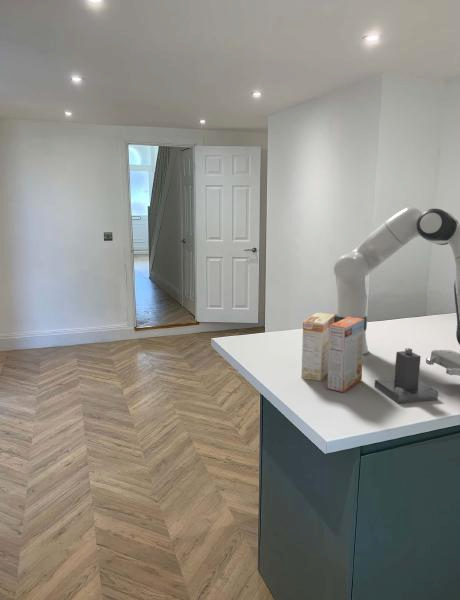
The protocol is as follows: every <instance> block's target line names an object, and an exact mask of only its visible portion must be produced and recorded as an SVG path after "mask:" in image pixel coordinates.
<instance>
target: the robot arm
mask: <svg viewBox="0 0 460 600" xmlns="http://www.w3.org/2000/svg"><path fill="white" fill-rule="evenodd" d="M417 237H422V238H423V239H424V240H426V241H428V242H430V243H431V244H436V245H441V246H444V245H445V246H446V245H449V246H450V248H451V250H452V253H453V256H454V262H455V268H456V269H455V270H456V273H455V274H456V276H455V279H454V283H453V289H454V290H453V294H454V303H455V312H456V322H457V323H456V324H457V325H456V340H457V343H458V345H459V346H460V223H459V221H458V220H457V219H456V218H455V217H454V216H453V215H452V214H451V213H450V212H447V211H446V210H443V209H442V208H441V209H440V208H429V209H427V210H424V211H423V212H422V211H421V210H419V209H418V208H417V207H414V206H408V207H407V206H406V207H405V208H403V209H402V210H400V211H398V212H396V213H395V214H393V215H392V216H391V217H389V218H388V219H387V220H385V221H384V222H383V223H382V224H380V225H379V226H378V227H376V229H374V231H372V232H371V233H369V235H367V236H366V237H365V239H363V240H362V242H360V244H358V245H357V246H356V247H355V248H354V249H352V250H351V251H350V252H348V253H345V254H342V255H341V256H339V258H338V259H337V260H336V261H335V263H334V267H333V273H334V276H335V283H336V285H335V286H336V290H337V292H336V293H337V306H336V308H337V309H336V313H334V312H332V313H331V314H334V315H335V318H334V323H336V322H338V321H340V320H342V319H345V318H347V317H355V318H361V319H364V339H363V355H365V354H368V353H369V349H368V345H367V344H368V343H367V337H366V336H367V335H366V334H367V333H366V332H367V328H368V317H367V302H368V301H367V299H368V296H367V291H366V290H367V289H366V277H367V276H368V275H369V274H370V273H372V272H373V271H374V270H375V269H377V268H378V267H379V266H380V265H381V264H382V263H384V262H385V261H387V259H389V258H390V257H392V256H393V255H394V254H395V253H397V252H398V251H400V249H402V248H403V247H404V246H405V245H407V244H408V243H409V242H411V240H413V239H414V238H417ZM425 363H426V364H427V365H429V366H431V365H432V366H433V365H434V364H436V365H438V366H441V367H443V368H445V370H446V371H445V373H446V374H447V375H450V376H460V353H459V352H457V351H456V350H451V349H436V350H435V349H434V350H432V351H431V352H430V357H427V358H426V359H425Z"/></svg>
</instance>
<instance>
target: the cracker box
mask: <svg viewBox="0 0 460 600" xmlns="http://www.w3.org/2000/svg"><path fill="white" fill-rule="evenodd" d="M363 339H364V319H361V318H355V317H347V318H345V319H342V320H340V321H338V322H336V323H333V324H331V325H329V345H328V373H327V384H326V385H327V386H326V387H327V389H328V390H331V391H336V392H339V393H343V394H344V393H345V392H346V391H348V390H350V388H352V387H353V386H355V385H356V384H357V383H359V382H360V381H362V379H363V362H364V361H363V360H364V358H363V357H364V354H363Z"/></svg>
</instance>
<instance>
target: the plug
mask: <svg viewBox="0 0 460 600" xmlns="http://www.w3.org/2000/svg"><path fill="white" fill-rule="evenodd" d="M420 366H421V355H420V354H416V353H415V352H413V349H412V348H407V347H406V348H405V349H404V351H403V350H402V351H396V354H395V369H394V378H395V380H394V383H395V384H397V385H398V386H400V387H402V388H403V389H405V390H406V389H416V388H418V381H420V370H421V369H420Z"/></svg>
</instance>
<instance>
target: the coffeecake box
mask: <svg viewBox="0 0 460 600" xmlns="http://www.w3.org/2000/svg"><path fill="white" fill-rule="evenodd" d="M334 314H335V313H334ZM334 314H332V313H325V312H315V313H314V314H312V315H311V316H309V317H308V318H307V319H305V320H303V321H302V347H301V348H302V349H301V350H302V353H301V379H307V380H311V379H312V380H313V381H318V382H321V381H322V380H323V379H324V378H325V377H327V376H328V345H329V325H331V324H333V323H334V318H335V315H336V314H335V315H334Z"/></svg>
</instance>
